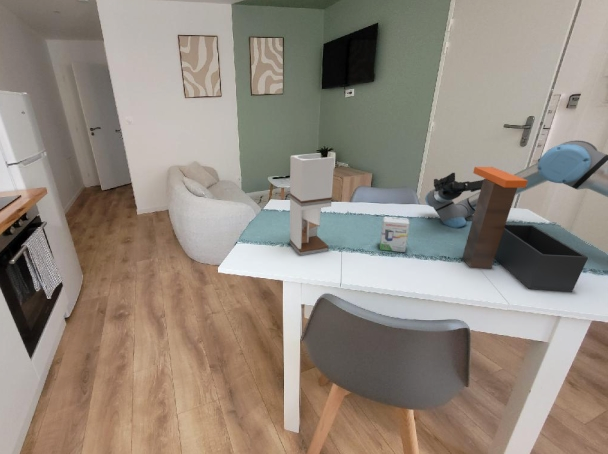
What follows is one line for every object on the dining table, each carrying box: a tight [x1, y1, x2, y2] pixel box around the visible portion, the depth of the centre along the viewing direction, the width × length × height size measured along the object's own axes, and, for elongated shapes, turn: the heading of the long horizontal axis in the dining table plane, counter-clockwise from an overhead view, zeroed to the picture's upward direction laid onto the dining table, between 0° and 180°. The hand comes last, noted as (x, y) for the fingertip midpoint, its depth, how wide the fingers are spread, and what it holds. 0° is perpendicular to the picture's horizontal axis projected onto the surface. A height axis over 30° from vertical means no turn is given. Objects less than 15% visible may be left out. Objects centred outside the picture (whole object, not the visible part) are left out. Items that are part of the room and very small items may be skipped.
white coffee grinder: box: [289, 152, 335, 256], centre depth 107 cm, size 11×11×35 cm
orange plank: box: [472, 166, 528, 188], centre depth 87 cm, size 18×5×2 cm, turn 167°
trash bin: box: [494, 223, 589, 293], centre depth 90 cm, size 22×10×11 cm, turn 167°
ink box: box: [379, 216, 411, 253], centre depth 107 cm, size 9×5×12 cm, turn 68°
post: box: [461, 178, 517, 269], centre depth 91 cm, size 6×6×28 cm
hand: (476, 176), depth 99 cm, fingers open, 13 cm apart
